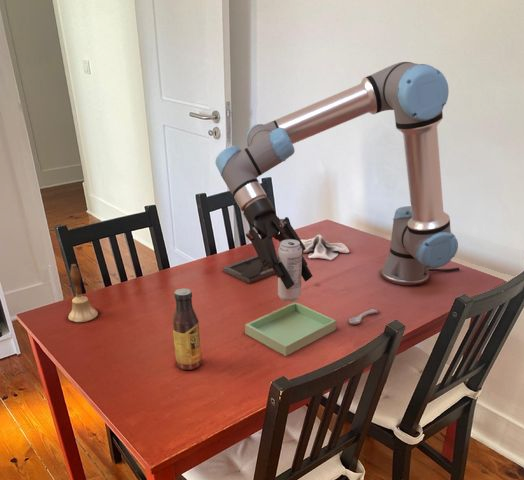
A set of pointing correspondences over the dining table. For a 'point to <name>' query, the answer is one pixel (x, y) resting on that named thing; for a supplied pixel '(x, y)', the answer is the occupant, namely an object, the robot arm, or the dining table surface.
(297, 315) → the tray
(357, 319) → the spoon
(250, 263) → the picture frame
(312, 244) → the cloth
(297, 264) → the energy drink can
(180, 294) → the sauce bottle
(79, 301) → the hand bell
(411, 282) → the robot arm
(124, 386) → the dining table surface
